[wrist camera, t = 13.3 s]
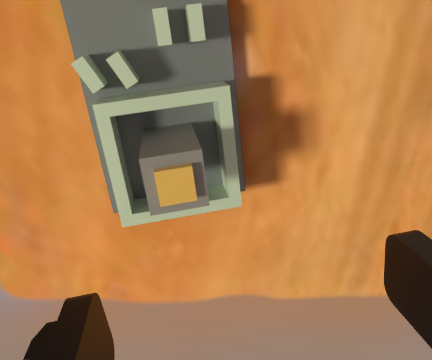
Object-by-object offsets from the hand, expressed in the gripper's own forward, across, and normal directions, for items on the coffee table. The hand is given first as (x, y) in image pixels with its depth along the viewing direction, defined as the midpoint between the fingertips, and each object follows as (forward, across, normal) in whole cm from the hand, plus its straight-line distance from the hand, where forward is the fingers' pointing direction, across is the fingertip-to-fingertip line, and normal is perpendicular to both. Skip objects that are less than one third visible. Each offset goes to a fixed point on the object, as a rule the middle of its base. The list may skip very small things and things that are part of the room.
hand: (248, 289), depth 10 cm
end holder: (+22, +2, +2) cm, 22 cm away
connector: (+22, +2, +2) cm, 22 cm away
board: (+23, +2, -2) cm, 23 cm away
